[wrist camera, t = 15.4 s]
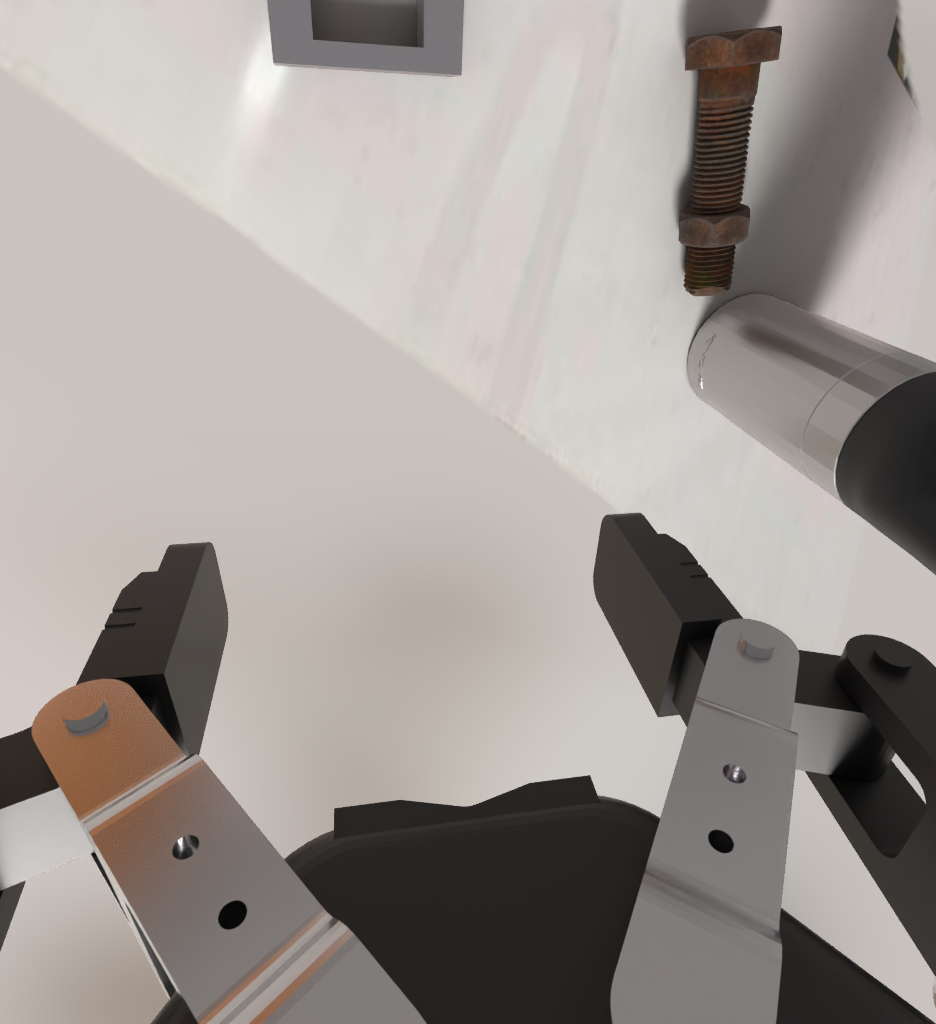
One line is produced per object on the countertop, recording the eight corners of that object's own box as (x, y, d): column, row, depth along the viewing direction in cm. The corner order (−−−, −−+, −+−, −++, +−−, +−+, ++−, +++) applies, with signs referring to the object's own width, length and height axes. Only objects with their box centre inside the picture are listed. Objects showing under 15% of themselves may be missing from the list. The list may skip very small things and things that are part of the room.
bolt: (671, 279, 49) (689, 36, 40) (743, 277, 47) (777, 25, 39) (667, 305, 44) (686, 39, 36) (745, 304, 43) (785, 26, 34)
